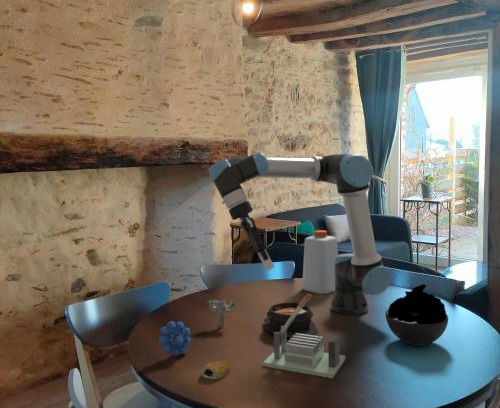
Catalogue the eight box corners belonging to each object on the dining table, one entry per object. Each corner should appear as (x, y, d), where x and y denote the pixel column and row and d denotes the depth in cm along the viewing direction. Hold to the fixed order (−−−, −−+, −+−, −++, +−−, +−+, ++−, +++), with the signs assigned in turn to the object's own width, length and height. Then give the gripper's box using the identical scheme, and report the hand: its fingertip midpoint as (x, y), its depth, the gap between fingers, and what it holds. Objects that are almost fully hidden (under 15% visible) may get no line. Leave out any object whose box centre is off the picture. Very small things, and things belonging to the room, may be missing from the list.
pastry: (218, 365, 152) (217, 353, 151) (236, 370, 148) (235, 358, 148) (199, 377, 144) (198, 364, 144) (217, 382, 140) (217, 370, 140)
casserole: (252, 324, 187) (252, 303, 186) (294, 316, 194) (294, 295, 193) (284, 347, 164) (284, 323, 163) (330, 337, 172) (330, 314, 171)
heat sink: (271, 361, 150) (271, 335, 149) (284, 348, 160) (284, 323, 159) (332, 372, 142) (332, 344, 141) (342, 357, 152) (341, 331, 151)
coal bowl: (417, 360, 151) (417, 301, 149) (372, 339, 169) (372, 286, 167) (461, 347, 160) (462, 291, 158) (415, 328, 178) (415, 277, 176)
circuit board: (263, 365, 150) (263, 362, 150) (280, 348, 162) (280, 345, 162) (332, 378, 140) (332, 374, 140) (345, 359, 153) (345, 355, 153)
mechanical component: (234, 329, 182) (233, 303, 181) (207, 327, 184) (206, 302, 183) (235, 326, 185) (235, 300, 184) (209, 325, 187) (208, 299, 186)
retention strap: (277, 340, 152) (274, 337, 152) (284, 333, 157) (281, 331, 157) (306, 300, 146) (302, 298, 146) (311, 295, 151) (308, 293, 151)
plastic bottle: (298, 289, 231) (297, 231, 228) (318, 283, 241) (318, 227, 238) (323, 296, 220) (323, 234, 217) (344, 289, 230) (343, 230, 227)
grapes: (165, 365, 152) (164, 328, 151) (156, 358, 158) (154, 322, 156) (198, 355, 159) (196, 319, 158) (188, 349, 164) (186, 314, 163)
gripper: (226, 212, 167) (257, 274, 165) (229, 207, 154) (263, 274, 152) (245, 203, 168) (277, 264, 166) (250, 196, 155) (284, 263, 153)
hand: (270, 268), depth 159 cm, fingers closed
